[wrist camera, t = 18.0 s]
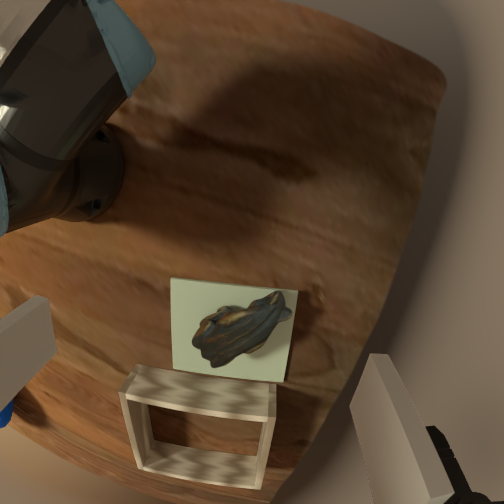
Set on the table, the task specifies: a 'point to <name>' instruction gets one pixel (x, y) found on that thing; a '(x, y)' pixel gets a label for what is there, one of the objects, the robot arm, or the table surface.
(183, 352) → the pad
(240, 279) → the table surface
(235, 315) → the sculpture
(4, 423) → the vase
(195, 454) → the frame
